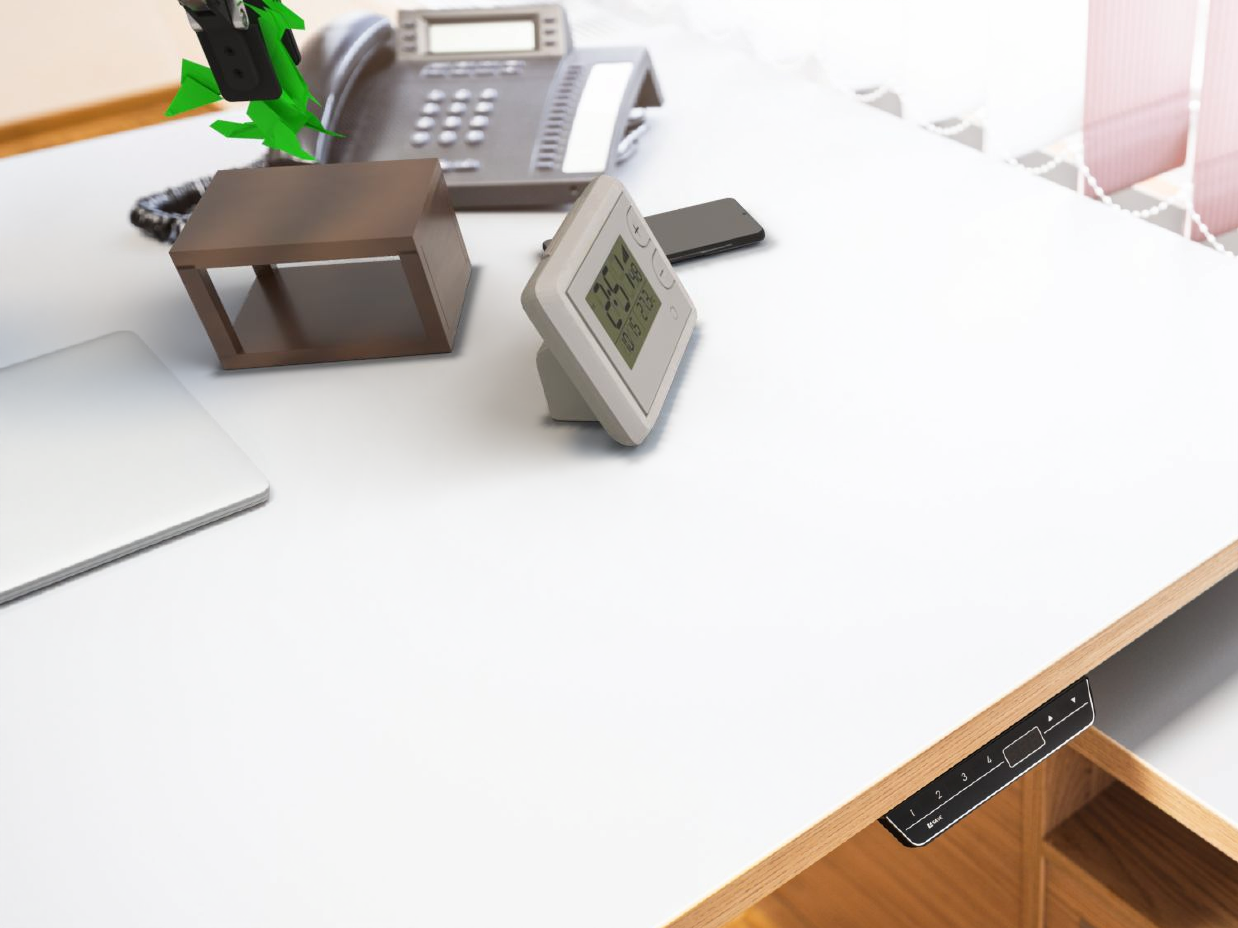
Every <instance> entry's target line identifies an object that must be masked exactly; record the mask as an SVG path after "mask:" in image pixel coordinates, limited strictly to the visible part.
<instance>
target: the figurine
mask: <svg viewBox="0 0 1238 928" xmlns="http://www.w3.org/2000/svg"><path fill="white" fill-rule="evenodd" d="M262 1H263V2H264V3H265V4H267V5H268V6H269V7H270V8H271V9H272V10H271V9H268V8H266V7H264V6H263V7H264V8H265V10H266V11H263V10H261V9H258V8H256V7H254V6H251V5H249V4H247V3H244V2H242V1H241V2H242V3H244V4H246V5H247V6H249V7H251V8H252V9H253V10H254V11H256V12H257V13H258V14H259V15H260V16H261V17H259V18H258V21H259V24H260V28H261V31H262V34H263V37H264V41H265V44H266V47H267V50H268V53H269V56H270V59H271V62H272V64H273V67H274V70H275V72H276V75H277V77H278V80H279V83H280V85H281V88H282V95H281V96H280V98H279V99H277V100H263V101H249V103H248V107H247V109H246V113H245V114H246V116H248V118H249V119H250V120H251V121H246V122H244V123H242V122H236V121H231V120H230V121H228V120H224V119H223V120H222V119H217V120H215V121H214V122H212V123H211V124H209V127H210V128H211V129H213V130H214V131H216V132H217V133H219V134H220V135H222V136H224V137H225V138H227V139H247V140H248V139H249V140H262V143H261V145H263V146H265V147H268V148H271V149H273V150H276V151H282V152H284V153H286V154H289V155H291V156H293V157H296V158H297V159H298V158H299V159H300V160H304V161H312V162H319V160H318V159H316V158H315V157H314V156H312V155H311V154H310V153H308V152H307V151H306V150H305V149H303V148H302V146H301V144H300V141H299V140H298V136H297V135H298V133H299V132H300V131H301V130H302V129H303V127H305V128H306V129H307V128H308V129H311V130H313V131H315V132H318V133H321V134H325V135H327V136H332V137H341V138H346V136H345V135H343V134H340V133H338V132H337V133H336V132H333V131H331V130H329V129H325V127H324V125H323V124H322V122H321V121H320V119H319V118H318V116H317V115H315V114H314V113H312V112H311V111H309V110H308V109H307V105H308V101H309V99H310V100H312V101H313V102H314V103H316V104H317V105H318V106H319V107H321V108H323V107H322V105H321V104H320V103H319V102H318V101H317V99H316V98H315V97H314V96H313V95H312V94H311V93H310V92H309V85H308V84H307V81H305V79H304V77H303V76H302V74H301V71H299V69H298V67H297V66H295V64H294V62H293V60H292V59H291V57H290V55H289V54H288V52H287V50H286V49H285V47H284V45H283V44H282V42H281V38H282V36H283V33H284V31H285V29H292V30H301V31H306V26H305V25H306V24H305V20H304V19H303V18H302V17H301V16H300V15H298V14H297V13H295V12H294V11H293V10H292V9H290V8H289V7H288V6H286V5H285V4H284V3H283V2H282V1H281V2H282V3H281V2H280V1H278V2H277V1H276V0H274V1H275V2H273V1H272V0H262ZM180 71H181V74H180V85H181V86H180V88H179V89H178V91H177V92H176V94H175V95H174V98H173V99H172V101H171V103H170V104H169V106H168V107H167V109H166V111H165V112H164V113H163V115H164V116H165V117H167V118H169V117H170V118H172V117H176V115H179V114H182V113H186V112H189V111H192V110H194V109H198V108H200V107H204V106H207V105H210V104H213V103H217V102H219V101H222V100H224V98H223V97H222V95H221V93H220V90H219V88H218V86H217V83H216V81H215V78H214V76H213V73H212V71H211V69H210V67H208V66H205V65H203V64H200V63H197V62H194V61H192V60H188V59H186V58H182V59H181V70H180Z"/></svg>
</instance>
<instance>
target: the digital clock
mask: <svg viewBox="0 0 1238 928" xmlns="http://www.w3.org/2000/svg"><path fill="white" fill-rule="evenodd" d="M643 217H644V215H643V214H642V213H641V210H640V209H639V208H638V206H637V203H636V202H635V200H634V199H633V197H632V196H631V194H630V192H629V191H628V189H627V187H626V186H625V185H624V183H623V182H622V181H621V180H619V179H617V178H616V177H613V176H611V175H608V174H601V175H599V176H596V177H594V178H593V179H592V180H591V181H590V182H589V183H588V184H587V186H586V187H585V188H584V190H583V191H582V193H581V194H580V196H579V197H577V198H576V199H575V201H574V203H573V204H572V206H571V208H570V209H569V211H568V212H567V214H566V215H565V217H564V219H563V221H562V222H561V224H560V225H559V227H558V229H557V230H556V231H555V233H554V236H552V238H551V239H552V240H551V242H550V243H549V245H548V247H547V248H546V250H545V252H544V251H543V253H542V255H541V257H540V261H539V262H538V264H537V266H536V268H535V269H534V270H533V273H532V274H531V276H530V277H529V279H528V281H527V283H526V284H525V286H524V287H523V290H522V292H521V294H520V304H521V307H522V310H523V311H524V313H525V315H526V316H527V319H529V321H530V322H531V324H532V325H533V327H534V328H535V329H536V331H537V333H538V335H540V337H541V339H542V340H543V342H542V343H541V345H540V347H539V349H538V350H537V353H536V356H535V364H536V369H537V374H538V377H539V380H540V383H541V387H542V390H543V393H544V397H545V401H546V404H547V407H548V410H549V414H550V417H551V419H553V420H556V421H568V422H569V421H570V422H572V421H573V422H575V421H576V422H599V423H600V424H601V426H602V427H603V428H604V430H605V431H606V433H607V434H608V435H609V436H610V437H611V439H612V440H614V441H615V442H617V443H619V444H621V445H622V446H626V447H633V446H638V445H641V444H642V443H644V441H645V440H646V438H647V437H648V436H649V434H650V432H651V430H652V429H653V428H654V426H655V424H656V423H657V419H658V417H659V416H660V413H661V411H662V408H663V406H664V403H665V400H666V397H667V396H668V393H669V391H670V388H671V386H672V383H673V381H674V378H675V376H676V373H677V371H678V369H679V366H680V363H681V361H682V359H683V356H684V354H685V351H686V350H687V346H688V344H689V341H690V339H691V337H692V334H693V331H694V329H695V326H696V323H697V319H698V311H697V308H696V306H695V304H694V302H693V300H692V298H691V297H690V295H689V293H688V290H687V289H686V287H685V286H684V284H683V283H682V281H681V279H680V278H679V276H678V274H677V273H676V271H675V269H674V268H673V265H672V263H670V262H669V260H668V259H667V257H666V255H665V254H664V252H663V250H662V248H661V247H660V245H659V243H658V242H657V240H656V238H655V236H654V235H653V233H652V231H651V230H650V228H649V226H648V225H647V223H646V221H645V219H644V218H643Z"/></svg>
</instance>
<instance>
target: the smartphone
mask: <svg viewBox="0 0 1238 928" xmlns="http://www.w3.org/2000/svg"><path fill="white" fill-rule="evenodd" d="M643 218H644V219H645V221H646V223H647V225H648V226H649V228H650V230H651V231H652V233H653V235H654V236H655V238H656V240H657V242H658V243H659V245H660V247H661V248H662V250H663V252H664V254H665V255H666V257H667V259H668V260H669V262H670V264H672V263H675V262H680V261H683V260H688V259H692V258H696V257H700V256H704V257H705V256H709V255H712V254H716V253H719V252H724V251H728V250H731V249H736V248H739V247H744V246H747V245H751V244H756V243H760V242H762V241H764V240H765V238H766V230H765V229H764V227H762V225H761V224H760V223H759V222H758V221H757V220H756V219H755V218H754V217H753V216H752V215H751V214H750V213H749V211H747V210H746V209H745V208H744V207H743V206H742V205H741V204H740V202H738V201H737V200H736V199H735V198H733V197H725V198H719V199H715V200H711V201H708V202H707V201H706V202H703V203H698V204H694V205H690V206H686V207H682V208H678V209H677V208H676V209H672V210H669V211H665V212H660V213H656V214H652V215H647V216H643ZM552 239H553V238H549V239H546V240H544V241H543V242H542V243H541V244H542V250H543V253H544V252H545V250H546V248H547V247H548V245H549V243H550V242H551V240H552Z"/></svg>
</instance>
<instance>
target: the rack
mask: <svg viewBox="0 0 1238 928" xmlns="http://www.w3.org/2000/svg"><path fill="white" fill-rule="evenodd" d="M457 217H458V216H457V214H456V211H455V207H454V204H453V202H452V198H451V195H450V191H449V188H448V185H447V181H446V179H445V175H444V172H443V169H442V166H441V163H440V159H439V157H424V158H408V159H407V158H406V159H391V160H388V159H387V160H373V161H354V162H353V161H352V162H337V163H320V164H319V163H318V164H303V165H302V164H301V165H285V166H269V167H250V168H233V169H217V171H216V172H215V174H214V175H213V177H212V179H211V181H210V182H209V184H208V185H207V187H206V189H205V191H204V193H203V194H202V196H201V197H200V199H199V201H198V202H197V204H196V206H195V207H194V209H193V211H192V212H191V214H190V216H189V217H188V219H187V221H186V222H185V224H184V226H183V227H182V229H181V230H180V232H179V234H178V235H177V237H176V239H175V241H174V242H173V244H172V245H171V248H169V250H168V255H169V257H170V259H171V261H172V263H173V265H174V268H175V269H176V272H177V273H178V275H179V278H180V280H181V282H182V284H183V286H184V288H185V290H186V292H187V294H188V296H189V299H190V301H191V302H192V305H193V307H194V309H195V310H196V313H197V316H198V317H199V319H200V321H201V324H202V326H203V328H204V330H205V332H206V334H207V337H208V339H209V341H210V343H211V345H212V347H213V349H214V351H215V353H216V355H217V357H218V360H219V361H220V364H221V366H222V368H223V370H239V369H250V368H262V367H263V368H264V367H274V366H275V367H278V366H289V365H301V364H303V365H304V364H313V363H314V364H315V363H326V362H328V363H329V362H339V361H341V362H342V361H351V360H353V361H354V360H363V359H364V360H366V359H378V358H390V357H391V358H392V357H405V356H415V355H428V354H441V353H452V350H453V346H454V343H455V339H456V334H457V330H458V327H459V323H460V318H461V314H462V310H463V306H464V302H465V297H466V294H467V290H468V286H469V282H470V277H471V274H472V269H473V265H472V263H471V259H470V256H469V253H468V250H467V247H466V246H467V245H466V243H465V240H464V237H463V234H462V230H461V227H460V224H459V221H458V218H457ZM383 257H384V258H385V257H386V258H387V257H398V258H399V259H389V260H388V259H387V260H373V261H359V262H346V263H345V262H344V263H330V264H314V265H299V266H298V265H297V266H285V267H278V265H280V264H282V265H283V264H296V263H298V264H299V263H311V262H324V261H340V260H342V261H343V260H356V259H369V258H370V259H371V258H372V259H373V258H383ZM250 266H251V267H252V269H253V272H254V275H255V279H254V281H253V283H252V285H251V286H250V290H249V291H248V293H247V295H246V297H245V299H244V302H243V304H242V306H241V307H240V309H239V312H238V315H237V316H236V318H235V320H234V321H233V324H232V321H231V320H230V317H229V315H228V313H227V310H226V308H225V306H224V305H223V302H222V300H221V298H220V295H219V293H218V291H217V289H216V287H215V284H214V282H213V280H212V278H211V276H210V274H209V272H208V269H209V270H210V269H221V268H222V269H223V268H237V267H250Z"/></svg>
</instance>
